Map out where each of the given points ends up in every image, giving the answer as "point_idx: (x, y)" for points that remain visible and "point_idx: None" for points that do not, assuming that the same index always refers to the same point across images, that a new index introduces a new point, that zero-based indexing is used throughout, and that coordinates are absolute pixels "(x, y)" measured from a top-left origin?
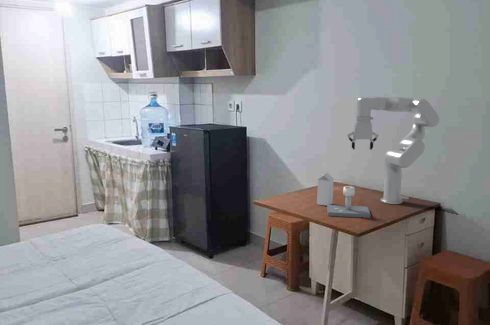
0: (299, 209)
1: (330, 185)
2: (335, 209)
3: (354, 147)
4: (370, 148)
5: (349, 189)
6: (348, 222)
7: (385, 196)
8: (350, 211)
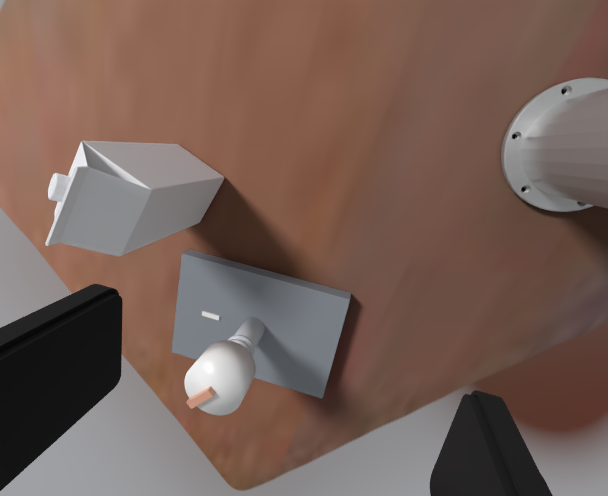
0: (87, 257)
1: (149, 232)
2: (204, 323)
3: (87, 408)
4: (440, 477)
5: (210, 411)
6: (233, 416)
7: (532, 164)
8: (256, 355)
